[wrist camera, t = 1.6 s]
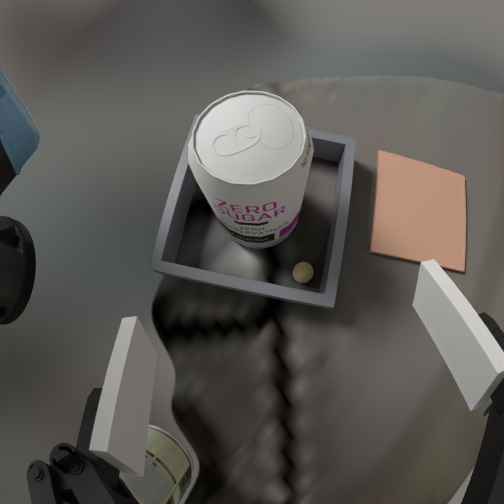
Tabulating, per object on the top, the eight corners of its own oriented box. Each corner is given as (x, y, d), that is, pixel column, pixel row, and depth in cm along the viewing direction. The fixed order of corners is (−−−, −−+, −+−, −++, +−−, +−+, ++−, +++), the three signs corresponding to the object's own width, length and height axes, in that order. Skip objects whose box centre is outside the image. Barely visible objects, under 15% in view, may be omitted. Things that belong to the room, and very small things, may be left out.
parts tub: (162, 274, 32) (148, 268, 28) (203, 133, 35) (195, 114, 31) (326, 308, 30) (333, 307, 26) (348, 156, 33) (355, 138, 29)
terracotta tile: (368, 252, 31) (370, 250, 30) (377, 152, 33) (379, 150, 33) (461, 272, 30) (464, 271, 29) (462, 178, 32) (464, 176, 31)
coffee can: (204, 496, 27) (170, 573, 13) (125, 492, 27) (68, 549, 13) (183, 420, 29) (127, 478, 15) (102, 421, 29) (24, 460, 15)
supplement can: (277, 164, 34) (277, 69, 19) (312, 229, 32) (341, 162, 17) (209, 194, 33) (166, 113, 19) (240, 263, 32) (211, 218, 17)
